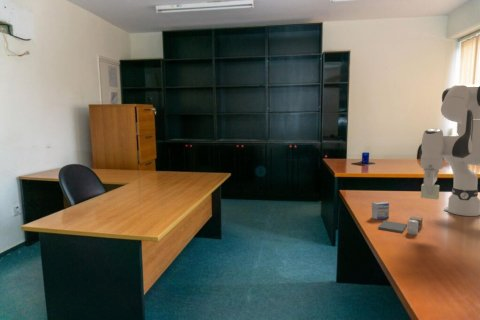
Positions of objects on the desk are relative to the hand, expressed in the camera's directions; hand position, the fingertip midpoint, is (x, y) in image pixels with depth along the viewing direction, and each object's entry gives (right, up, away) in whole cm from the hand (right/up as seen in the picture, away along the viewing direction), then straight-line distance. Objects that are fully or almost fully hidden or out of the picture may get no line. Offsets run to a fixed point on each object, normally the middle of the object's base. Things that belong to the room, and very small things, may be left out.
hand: (429, 193), depth 153 cm
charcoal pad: (-12, -18, +11) cm, 25 cm away
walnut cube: (-1, -18, +10) cm, 21 cm away
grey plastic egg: (-7, -19, +2) cm, 21 cm away
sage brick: (0, -2, 0) cm, 2 cm away
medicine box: (-12, -17, +27) cm, 34 cm away
